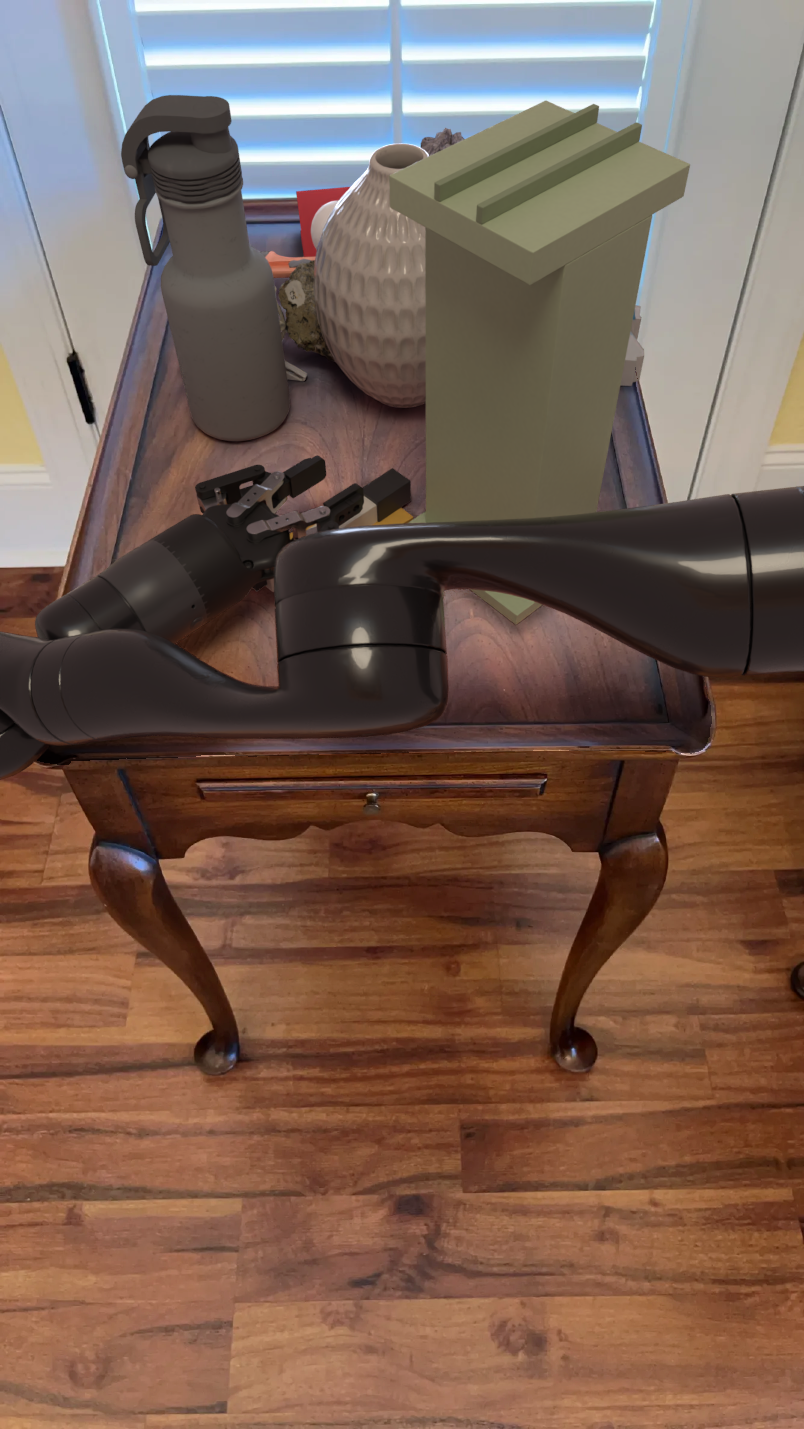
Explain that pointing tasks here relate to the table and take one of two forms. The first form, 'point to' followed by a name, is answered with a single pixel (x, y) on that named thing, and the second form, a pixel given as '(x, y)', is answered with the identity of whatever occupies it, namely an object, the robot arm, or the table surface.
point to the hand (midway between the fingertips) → (340, 479)
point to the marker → (373, 505)
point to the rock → (302, 310)
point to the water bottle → (209, 266)
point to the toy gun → (633, 353)
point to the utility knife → (284, 263)
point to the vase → (375, 285)
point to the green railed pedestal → (529, 309)
